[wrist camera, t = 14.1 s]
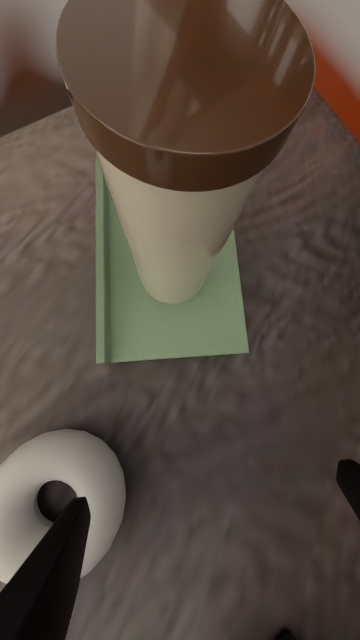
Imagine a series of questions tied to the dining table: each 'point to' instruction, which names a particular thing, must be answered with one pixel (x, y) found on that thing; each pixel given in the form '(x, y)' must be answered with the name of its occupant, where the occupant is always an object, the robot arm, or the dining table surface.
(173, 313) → the shelf
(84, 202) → the dining table surface
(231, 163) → the canister
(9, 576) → the donut
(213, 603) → the dining table surface
